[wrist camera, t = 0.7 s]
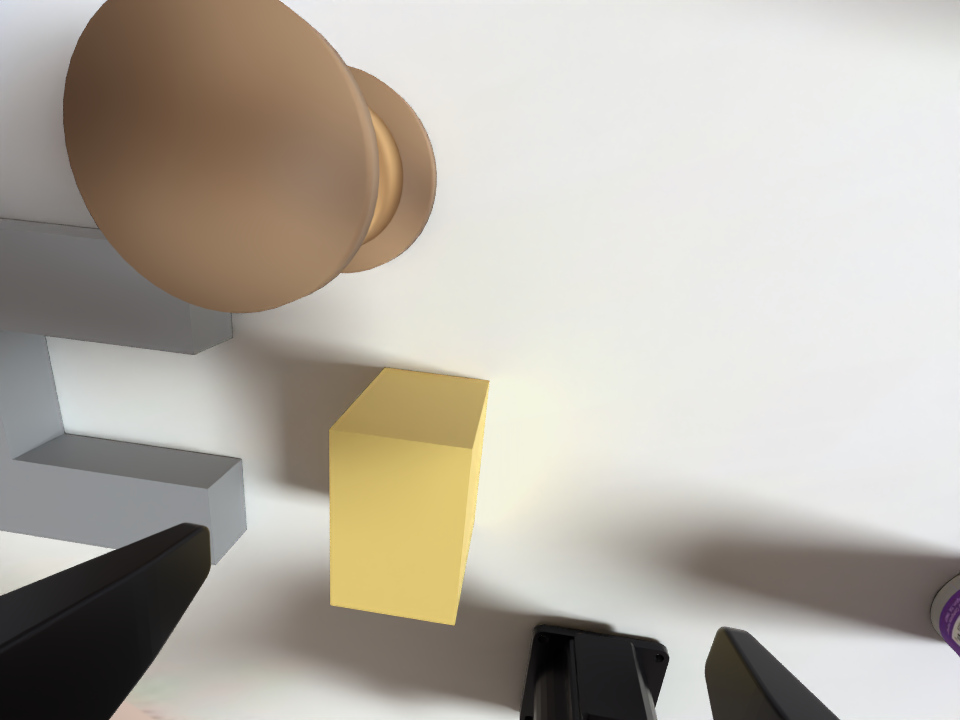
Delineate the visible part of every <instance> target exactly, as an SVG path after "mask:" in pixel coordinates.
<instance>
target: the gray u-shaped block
mask: <svg viewBox="0 0 960 720" xmlns="http://www.w3.org/2000/svg"><path fill="white" fill-rule="evenodd" d="M45 336H52V337H59V338H67V339H75V340H82V341H90V342H98V343H106V344H113V345H121V346H129V347H137V348H144V349H152V350H160V351H168V352H175V353H183V354H191V355H195V354H197V353H200V352H202V351H204V350H206V349H208V348H211V347H213V346H215V345H217V344H220V343H222V342H224V341H226V340H228V339H231V338H233V335H232V321H231V313H229V312H220V311H215V310H210V309H205V308H202V307H199V306H196V305H193V304H190V303H187V302H185V301H183V300H181V299H178V298H176V297H174V296H172V295H170V294H168V293H167V292H165V291H163V290H162V289H160V288H158V287H157V286H155V285H154V284H152V283H151V282H150V281H148V280H147V279H146V278H144V277H143V276H142V275H140V274H139V273H138V272H137V271H136V270H135V269H134V268H133V267H132V266H130V265H129V264H128V263H127V262H126V261H125V260H124V259H123V258H122V257H121V256H120V254H119V253H118V252H117V251H116V250H115V249H114V248H113V246H112V245H111V244H110V243H109V241H108V240H107V239H106V237H105V236H104V234H103V233H102V232H101V230H100V229H93V228H84V227H75V226H66V225H57V224H48V223H39V222H30V221H21V220H12V219H3V218H0V530H1V531H7V532H13V533H19V534H26V535H32V536H38V537H44V538H50V539H57V540H63V541H69V542H75V543H81V544H87V545H94V546H100V547H106V548H112V549H119V548H121V547H124V546H126V545H129V544H131V543H134V542H136V541H139V540H141V539H143V538H146V537H148V536H151V535H153V534H156V533H158V532H161V531H163V530H166V529H168V528H171V527H173V526H176V525H178V524H181V523H185V522H189V523H194V524H200V525H204V526H206V527H208V529H209V531H210V546H211V565H216V564H217V563H218V562H219V561H220V559H221V558H222V557H223V556H224V555H225V554H226V553H227V551H228V550H229V549H230V548H231V547H232V546H233V545H234V543H235V542H236V541H237V540H238V539H239V538H240V537H241V535H242V534H243V533H244V532H245V531H246V530H247V526H246V512H245V499H244V485H243V471H242V459H237V458H230V457H223V456H216V455H209V454H202V453H195V452H188V451H181V450H174V449H168V448H161V447H154V446H147V445H140V444H133V443H126V442H119V441H112V440H105V439H98V438H91V437H84V436H78V435H71V434H65V432H64V427H63V423H62V418H61V413H60V408H59V403H58V398H57V393H56V388H55V383H54V378H53V373H52V368H51V363H50V359H49V354H48V349H47V344H46V339H45Z"/></svg>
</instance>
